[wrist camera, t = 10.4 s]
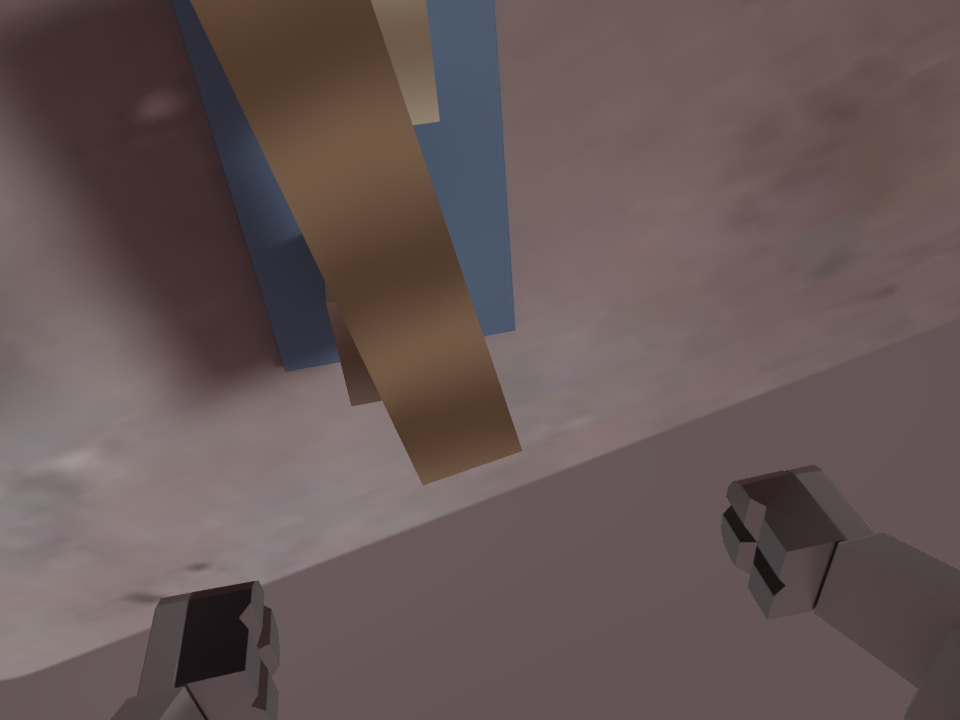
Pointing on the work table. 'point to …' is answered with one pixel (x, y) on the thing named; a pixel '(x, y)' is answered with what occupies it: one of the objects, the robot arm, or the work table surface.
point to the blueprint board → (448, 156)
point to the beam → (368, 216)
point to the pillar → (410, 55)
